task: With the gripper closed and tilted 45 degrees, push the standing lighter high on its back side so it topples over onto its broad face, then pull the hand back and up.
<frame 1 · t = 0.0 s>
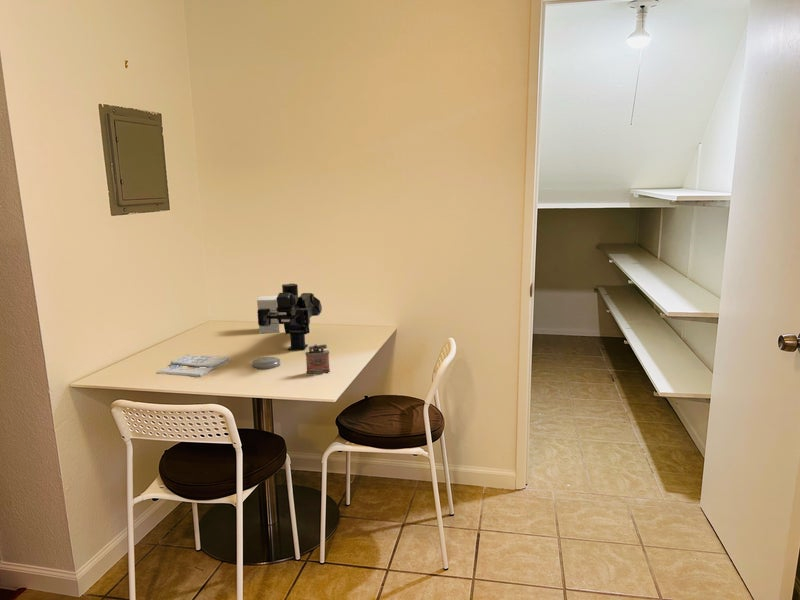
hand: (277, 322, 209), 17 cm above the table, tool horizontal, fingers open, 9 cm apart
supplement box: (269, 331, 266), on the table
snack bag: (193, 368, 216), on the table
lighter: (318, 373, 207), on the table
grey smooth stone: (266, 364, 216), on the table
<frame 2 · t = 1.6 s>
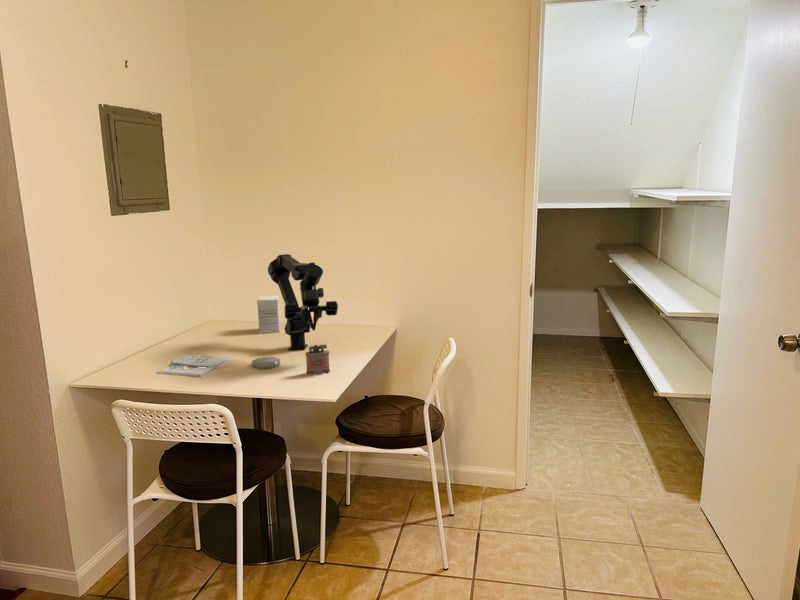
hand: (313, 329, 211), 13 cm above the table, tool tilted 45°, fingers closed
nothing on the table moved.
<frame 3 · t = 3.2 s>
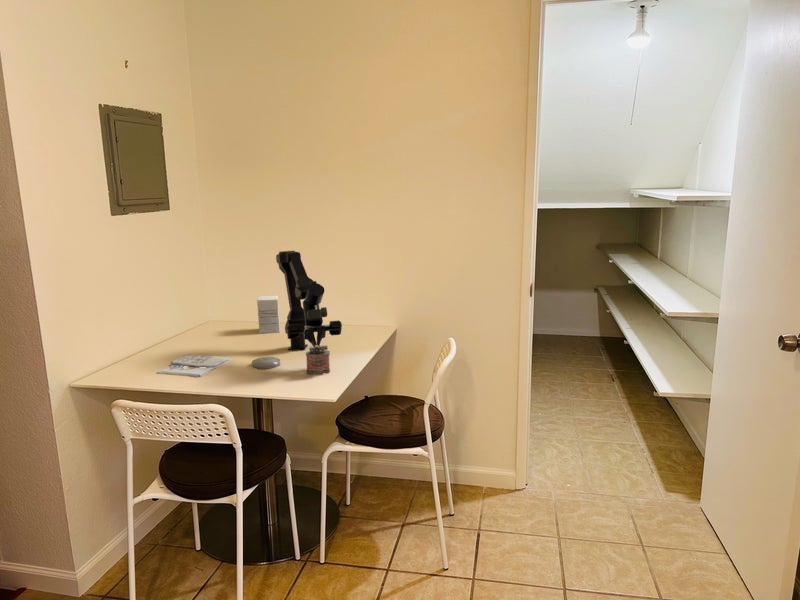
hand: (317, 350, 205), 8 cm above the table, tool tilted 45°, fingers closed, pressing on lighter
lighter: (318, 372, 207), on the table, touching gripper
everything else where it was.
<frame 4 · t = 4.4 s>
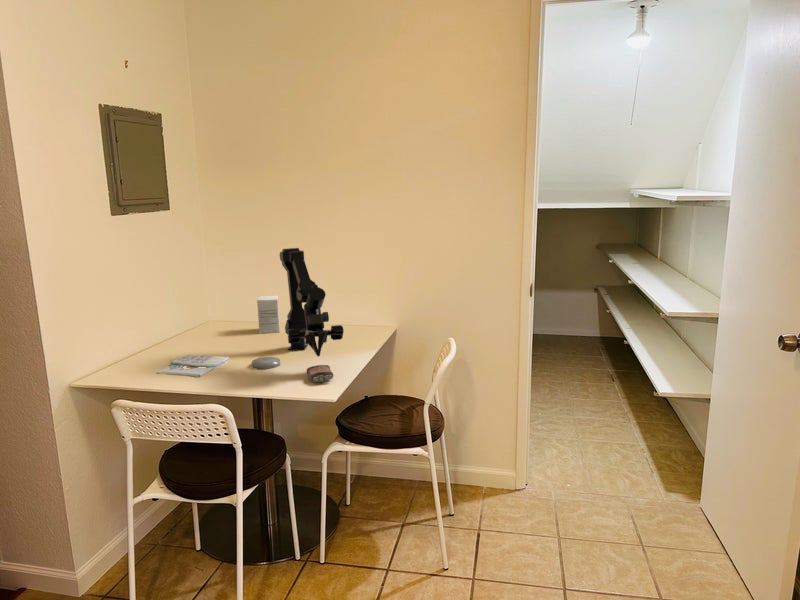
hand: (318, 355, 202), 7 cm above the table, tool tilted 45°, fingers closed
lighter: (318, 369, 205), point 2 cm above the table
everything else where it was.
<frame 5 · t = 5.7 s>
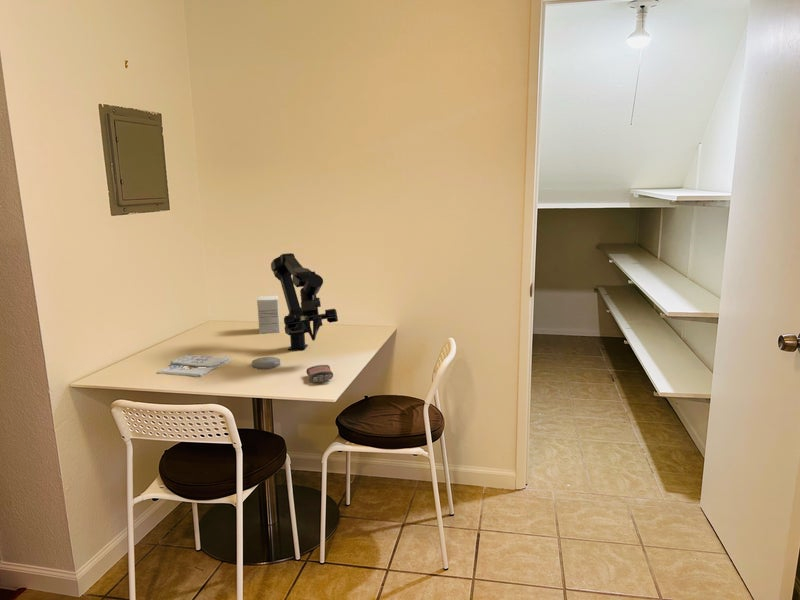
hand: (313, 340, 211), 10 cm above the table, tool tilted 40°, fingers closed
nothing on the table moved.
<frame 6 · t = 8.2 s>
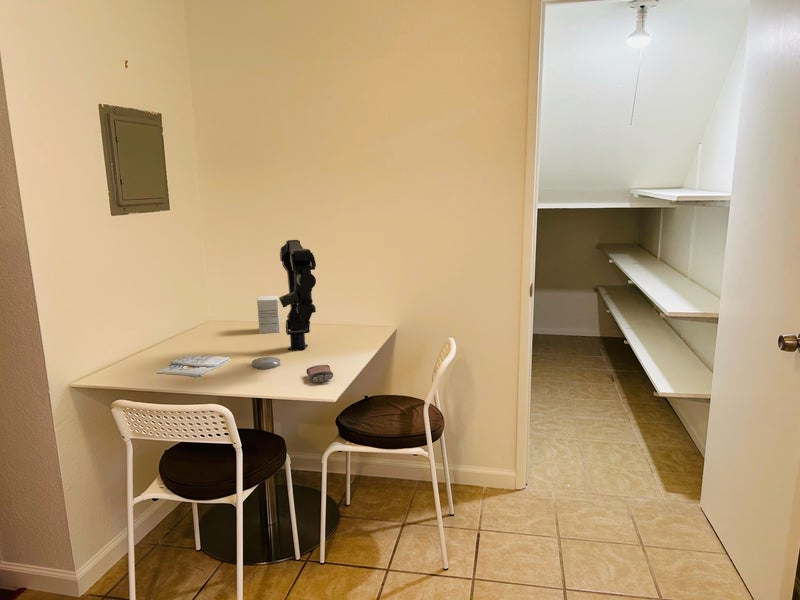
hand: (305, 327, 216), 13 cm above the table, tool pointing down, fingers closed
nothing on the table moved.
at the end: lighter tilted 90°; lighter inside the target area (2.3 cm from its centre), point 1.7 cm above the table; the gripper is holding nothing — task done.
